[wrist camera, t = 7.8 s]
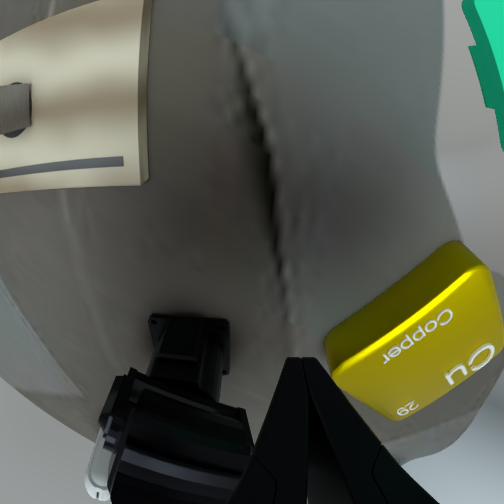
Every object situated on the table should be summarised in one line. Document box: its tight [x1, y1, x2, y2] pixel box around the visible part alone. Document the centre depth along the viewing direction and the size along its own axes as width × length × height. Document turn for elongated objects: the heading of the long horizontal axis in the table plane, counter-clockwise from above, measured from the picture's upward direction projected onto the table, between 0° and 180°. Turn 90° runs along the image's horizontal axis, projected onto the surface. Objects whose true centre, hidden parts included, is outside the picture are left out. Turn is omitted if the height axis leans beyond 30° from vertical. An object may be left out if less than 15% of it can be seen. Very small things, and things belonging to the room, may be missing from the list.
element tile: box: [324, 241, 504, 421], centre depth 22 cm, size 15×15×5 cm
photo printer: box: [85, 427, 112, 501], centre depth 28 cm, size 10×4×12 cm, turn 154°
